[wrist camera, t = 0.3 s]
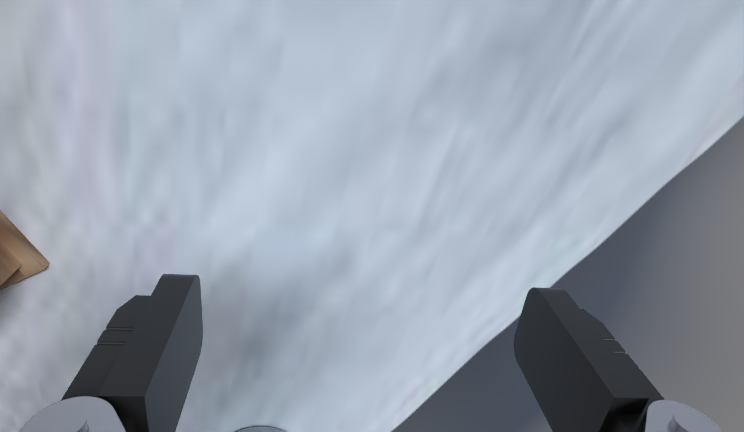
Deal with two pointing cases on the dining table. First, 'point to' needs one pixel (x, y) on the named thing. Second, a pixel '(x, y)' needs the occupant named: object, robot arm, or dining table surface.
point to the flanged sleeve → (17, 255)
